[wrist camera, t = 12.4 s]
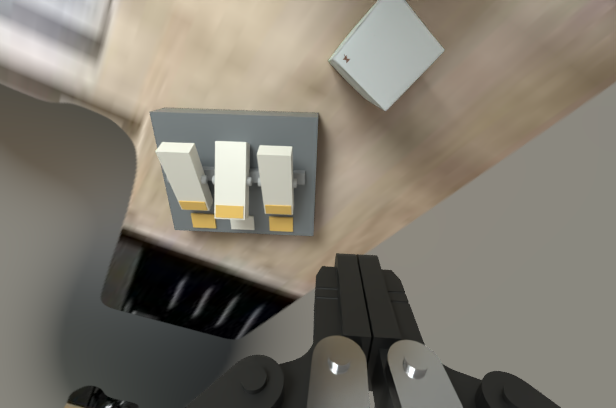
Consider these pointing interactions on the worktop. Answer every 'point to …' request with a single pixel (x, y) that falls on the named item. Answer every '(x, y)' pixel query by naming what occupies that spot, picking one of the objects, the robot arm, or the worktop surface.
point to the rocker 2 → (276, 179)
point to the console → (255, 131)
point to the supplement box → (386, 52)
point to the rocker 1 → (185, 175)
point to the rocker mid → (231, 180)
